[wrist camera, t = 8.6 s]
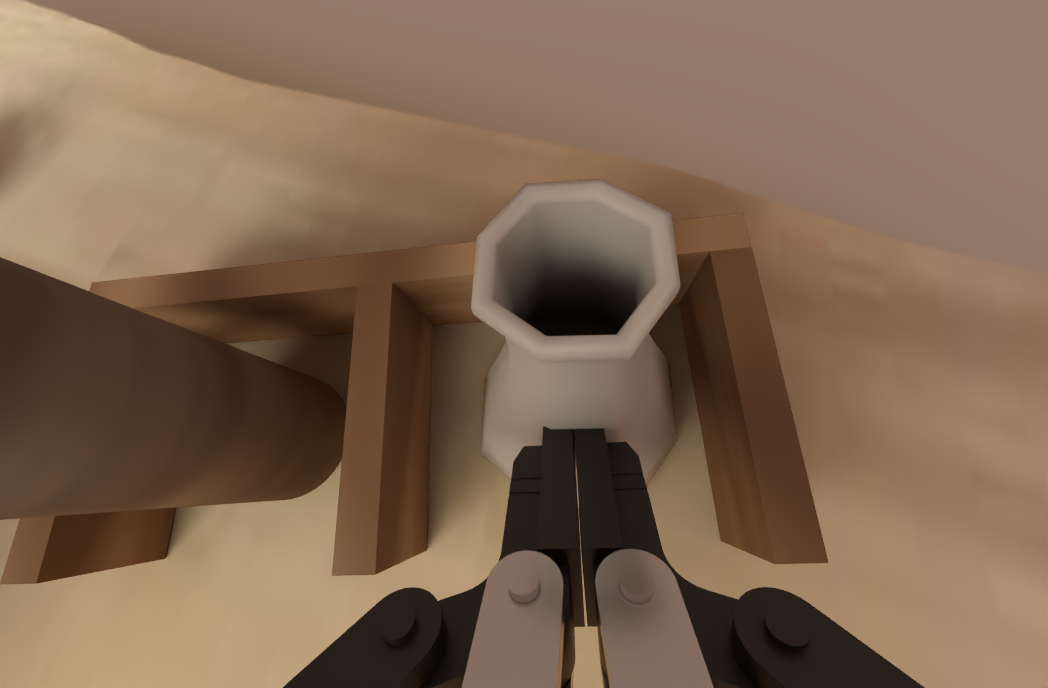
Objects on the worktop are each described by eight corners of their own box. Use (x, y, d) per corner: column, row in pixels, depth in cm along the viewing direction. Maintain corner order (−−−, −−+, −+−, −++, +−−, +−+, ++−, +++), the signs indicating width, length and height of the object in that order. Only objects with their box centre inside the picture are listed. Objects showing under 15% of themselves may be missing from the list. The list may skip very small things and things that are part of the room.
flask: (450, 470, 15) (253, 409, 6) (518, 300, 17) (451, 64, 8) (649, 548, 14) (803, 626, 4) (697, 348, 16) (863, 121, 7)
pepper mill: (225, 502, 16) (-1210, 597, 3) (245, 381, 18) (-675, 109, 5) (343, 497, 16) (-775, 580, 3) (353, 373, 17) (-338, 44, 4)
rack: (137, 559, 16) (-1, 584, 12) (188, 321, 19) (92, 282, 15) (759, 539, 14) (828, 562, 10) (705, 273, 17) (742, 212, 13)
